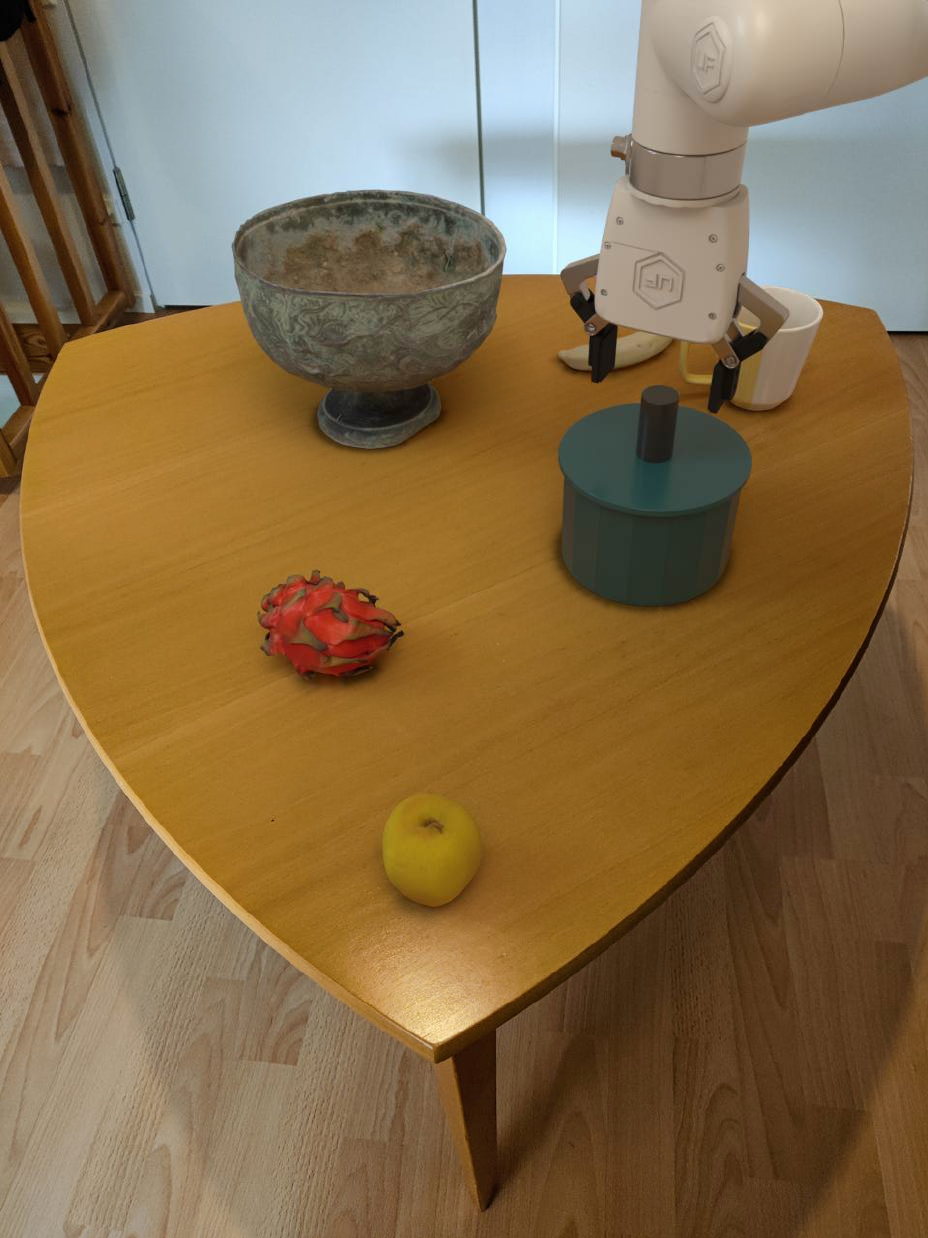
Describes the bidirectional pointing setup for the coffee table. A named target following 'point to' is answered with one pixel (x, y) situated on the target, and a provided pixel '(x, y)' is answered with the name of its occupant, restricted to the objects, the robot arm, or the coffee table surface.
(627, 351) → the fruit
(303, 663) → the dragon fruit
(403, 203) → the decorative bowl
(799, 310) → the mug
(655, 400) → the lid
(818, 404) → the coffee table surface
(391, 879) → the apple
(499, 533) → the coffee table surface
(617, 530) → the pot
